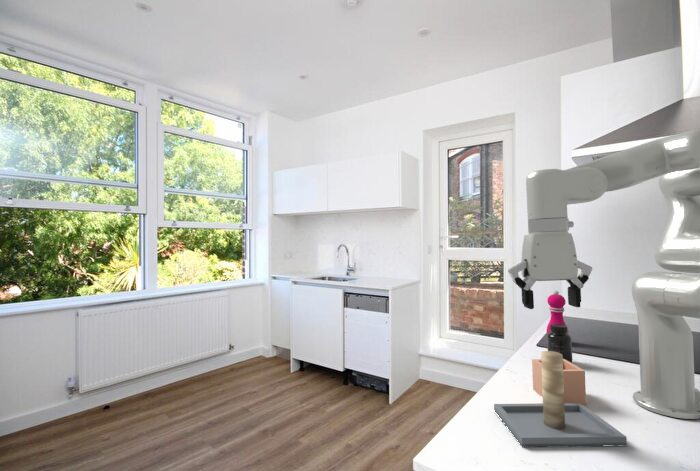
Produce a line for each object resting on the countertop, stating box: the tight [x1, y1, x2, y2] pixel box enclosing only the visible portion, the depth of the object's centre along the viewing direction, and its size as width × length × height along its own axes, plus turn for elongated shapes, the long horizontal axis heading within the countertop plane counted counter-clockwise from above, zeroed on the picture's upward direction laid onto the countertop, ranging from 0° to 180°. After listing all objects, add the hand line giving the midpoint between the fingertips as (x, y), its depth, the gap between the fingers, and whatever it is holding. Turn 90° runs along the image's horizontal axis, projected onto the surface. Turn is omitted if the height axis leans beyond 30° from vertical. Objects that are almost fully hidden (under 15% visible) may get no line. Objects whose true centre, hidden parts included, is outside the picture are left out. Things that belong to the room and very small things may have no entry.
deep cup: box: [531, 358, 587, 405], centre depth 89 cm, size 8×8×8 cm
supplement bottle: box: [546, 324, 573, 364], centre depth 113 cm, size 7×7×12 cm
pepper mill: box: [546, 290, 569, 334], centre depth 133 cm, size 7×7×20 cm
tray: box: [493, 402, 628, 448], centre depth 75 cm, size 20×14×2 cm
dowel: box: [540, 350, 565, 429], centre depth 75 cm, size 4×4×15 cm
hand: (551, 307), depth 75 cm, fingers open, 9 cm apart
